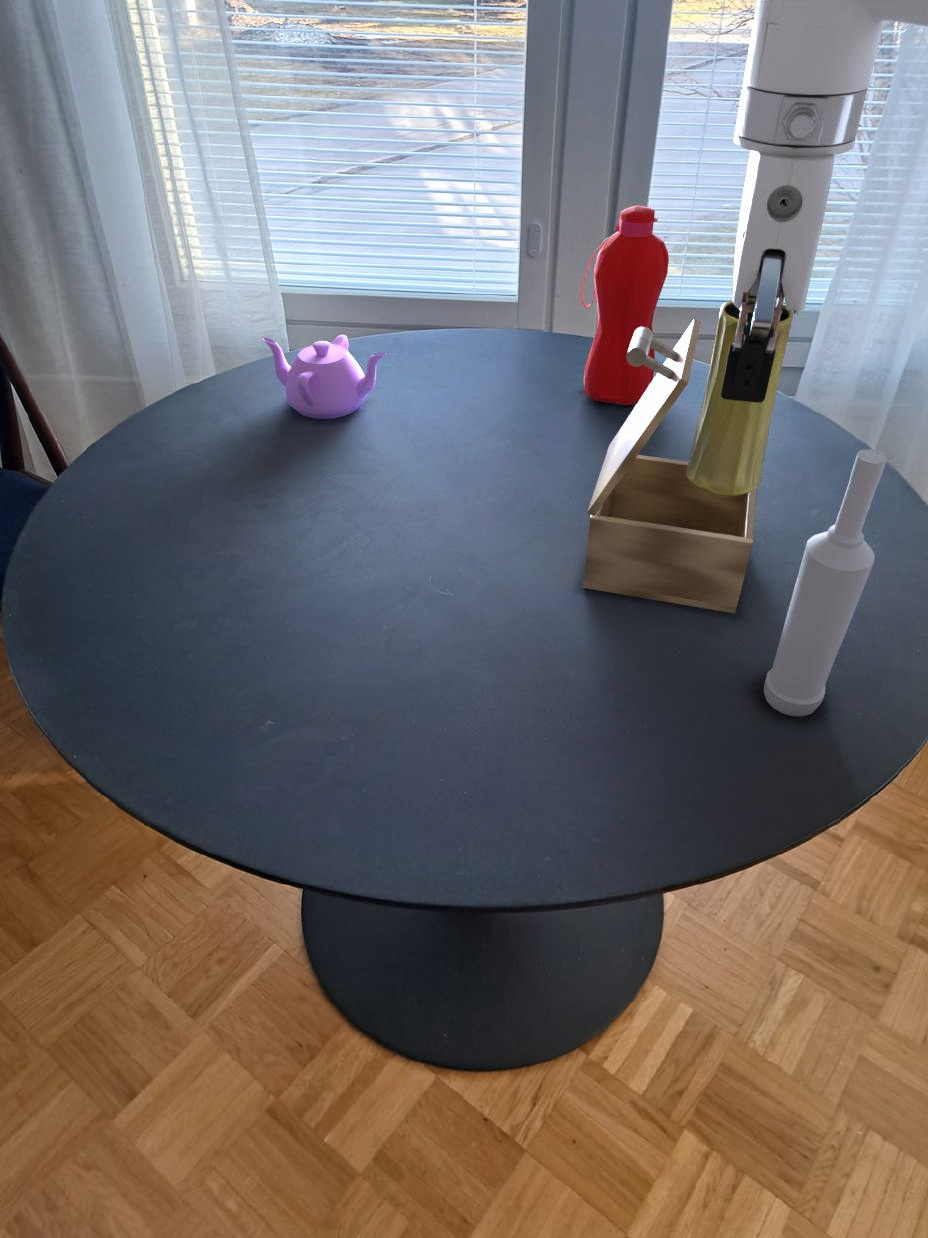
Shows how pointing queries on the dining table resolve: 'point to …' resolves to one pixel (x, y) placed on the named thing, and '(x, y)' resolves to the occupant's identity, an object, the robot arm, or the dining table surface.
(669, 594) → the box
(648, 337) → the lid
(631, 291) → the water bottle
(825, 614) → the bottle
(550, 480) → the dining table surface
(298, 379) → the teapot
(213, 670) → the dining table surface
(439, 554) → the dining table surface
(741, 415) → the vase
